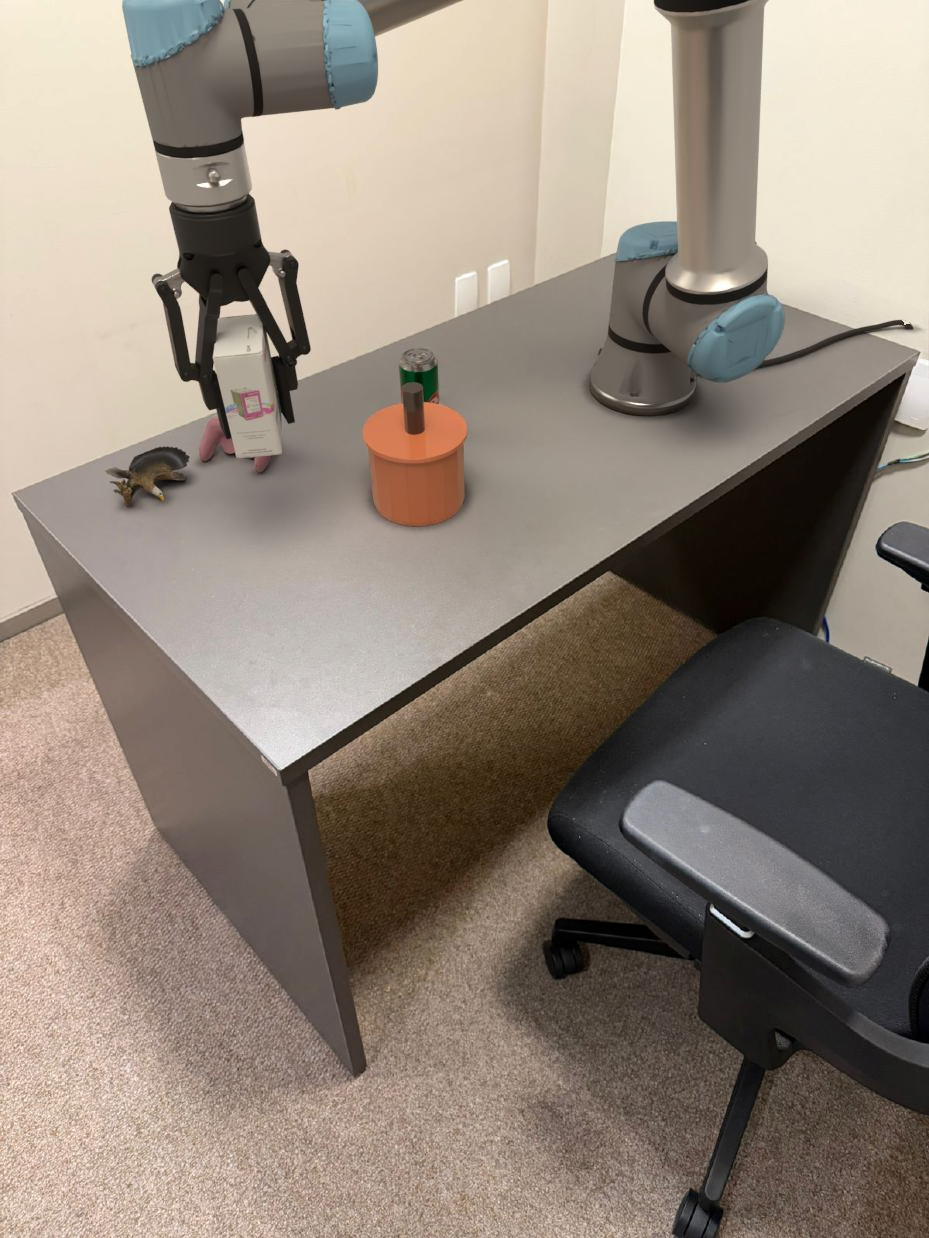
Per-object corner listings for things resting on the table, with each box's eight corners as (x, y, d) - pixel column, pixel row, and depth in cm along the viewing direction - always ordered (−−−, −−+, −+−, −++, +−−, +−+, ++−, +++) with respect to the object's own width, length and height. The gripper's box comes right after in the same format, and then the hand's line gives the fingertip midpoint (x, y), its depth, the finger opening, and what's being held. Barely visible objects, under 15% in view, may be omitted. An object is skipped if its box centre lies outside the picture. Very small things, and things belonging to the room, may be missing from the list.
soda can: (435, 447, 117) (432, 366, 108) (399, 443, 118) (393, 363, 109) (443, 427, 120) (441, 347, 112) (408, 424, 121) (403, 344, 113)
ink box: (236, 416, 96) (215, 314, 87) (282, 412, 96) (265, 311, 88) (233, 459, 90) (211, 354, 81) (282, 456, 90) (265, 351, 82)
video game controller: (278, 470, 116) (281, 417, 114) (260, 474, 112) (264, 420, 110) (214, 457, 119) (216, 405, 116) (195, 461, 114) (196, 407, 112)
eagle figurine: (151, 516, 105) (203, 470, 109) (109, 470, 102) (164, 424, 106) (132, 520, 111) (182, 477, 115) (92, 477, 108) (145, 433, 112)
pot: (441, 463, 114) (439, 400, 108) (479, 510, 107) (479, 445, 100) (361, 486, 111) (353, 422, 104) (394, 536, 103) (388, 471, 97)
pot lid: (441, 401, 108) (439, 352, 104) (485, 451, 100) (485, 400, 96) (348, 425, 105) (342, 375, 100) (386, 478, 97) (381, 427, 92)
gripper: (107, 231, 71) (176, 465, 87) (326, 193, 77) (353, 420, 93) (93, 201, 76) (161, 429, 92) (300, 168, 81) (330, 388, 98)
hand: (257, 424), depth 92 cm, fingers closed on ink box, 6 cm apart
